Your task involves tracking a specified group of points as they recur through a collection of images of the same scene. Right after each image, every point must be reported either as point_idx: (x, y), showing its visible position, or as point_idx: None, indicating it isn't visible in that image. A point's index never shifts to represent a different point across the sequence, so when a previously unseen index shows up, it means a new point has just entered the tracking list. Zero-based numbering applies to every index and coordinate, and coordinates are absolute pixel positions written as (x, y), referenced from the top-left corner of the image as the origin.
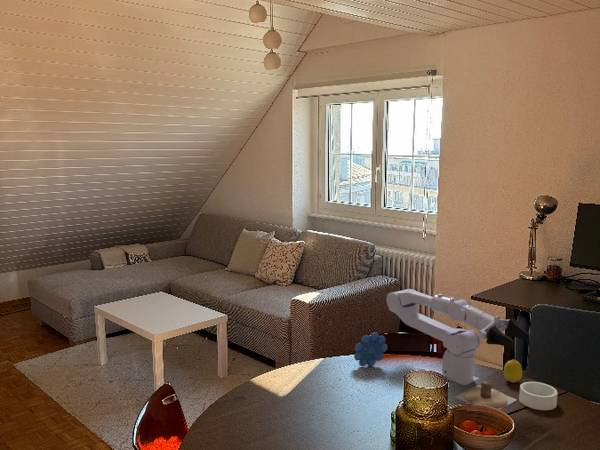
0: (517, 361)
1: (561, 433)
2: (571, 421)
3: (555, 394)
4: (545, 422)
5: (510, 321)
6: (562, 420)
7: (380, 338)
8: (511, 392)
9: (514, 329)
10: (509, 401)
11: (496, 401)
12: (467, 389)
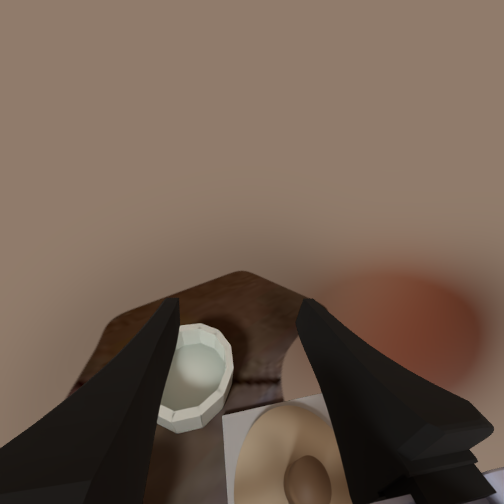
0: None
1: (255, 296)
2: (210, 305)
3: (186, 326)
4: (248, 323)
5: (102, 477)
6: (219, 313)
7: None
8: (178, 486)
9: (143, 416)
10: (247, 419)
11: (290, 427)
12: None
